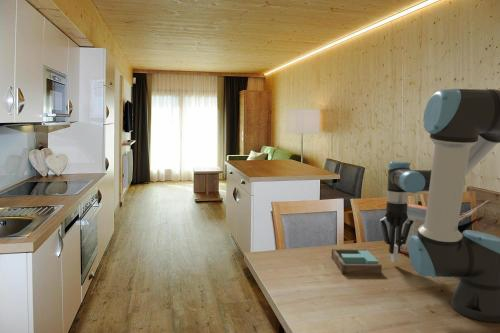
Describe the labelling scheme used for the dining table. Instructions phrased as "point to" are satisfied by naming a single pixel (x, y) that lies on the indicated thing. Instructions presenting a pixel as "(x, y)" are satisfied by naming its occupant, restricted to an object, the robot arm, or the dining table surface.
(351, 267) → the nest
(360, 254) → the t block
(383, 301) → the dining table surface
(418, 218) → the cracker box
